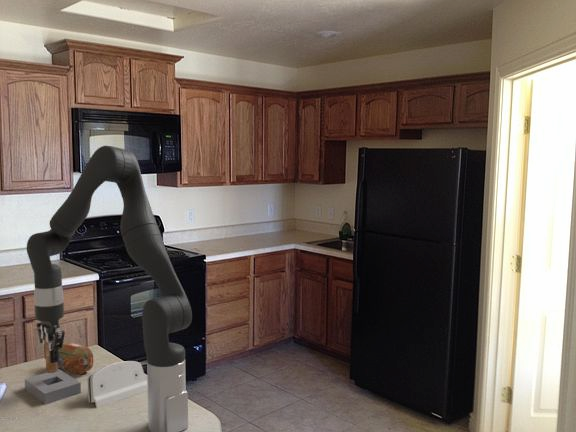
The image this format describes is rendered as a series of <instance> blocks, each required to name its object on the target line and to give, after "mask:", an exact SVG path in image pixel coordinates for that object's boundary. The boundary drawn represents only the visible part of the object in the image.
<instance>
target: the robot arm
mask: <svg viewBox="0 0 576 432" xmlns="http://www.w3.org/2000/svg"><path fill="white" fill-rule="evenodd" d="M105 182H110V183H115V184H116V185H117V187H118V190H119V192H120V195H121V198H122V201H123V209H122V213H121V219H120V234H121V237H122V240H123V243H124V246H125V249H126V252H127V254H128V256H129V257H130V258H131V259H132V260H133V262H135V264H136V265H137V266H138V267H139V268H141V269H142V270H143V271H145V273H146V274H147V275H148V276H150V277H151V279H152V280H153V281H154V282H155V284H156V285H157V287H158V289H159V292H160V294H161V296H158V297H154V298H151V299H148V300H146V301H145V303H144V305H143V306H142V312H141V321H142V322H141V323H142V332H143V334H142V335H143V347H144V351H145V354H146V365H147V366H146V368H147V369H146V370H147V371H146V372H147V373H146V377H147V378H146V381H147V384H148V391H147V417H148V418H147V419H148V422H147V424H148V425H147V426H148V430H149V432H182V431H184V430H186V429H188V428H189V400H188V399H189V398H188V397H189V394H188V391H187V390H186V389H187V388H186V385H187V382H186V349H185V347H184V346H183V345H181V344H179V343H175V342H170V341H169V334H173V333H176V332H179V331H182V330H185V329H187V328H188V327H190V325H191V324H192V320H193V312H192V306H191V303H190V301H189V299H188V297H187V294H186V292H185V290H184V288H183V286H182V284H181V282H180V280H179V278H178V276H177V274H176V271H175V268H174V266H173V265H172V261H171V260H170V257H169V253H168V251H167V248H166V247H165V246H166V245H165V242H164V238H163V237H162V234H161V231H160V228H159V225H158V223H157V221H156V218H155V215H154V212H153V211H152V207H151V204H150V201H149V198H148V195H147V192H146V188H145V183H144V181H143V175H142V173H141V167H140V165H139V161H138V158H136V156H135V154H133V152H132V151H130V150H127V149H125V148H121V147H117V146H112V145H102V146H100V147H98V148H97V149H96V150H95V151H94V152H93V154H92V155H91V157H89V160H88V162H87V163H86V165H85V167H84V169H83V170H82V172H81V173H80V176H79V178H78V179H77V181H76V183H75V185H74V187H73V188H72V190H71V192H70V194H69V195H68V196H67V198H66V199H65V201H63V203H62V204H61V205H60V207H59V208H58V209H57V211H55V213H54V214H53V215H52V216H51V218H50V219H49V228H50V230H47V231H43V232H37V233H33V234H32V235H30V237H28V239H27V242H26V252H27V257H28V260H29V262H30V265H31V268H32V271H33V275H34V277H33V278H34V279H33V280H34V282H33V283H34V293H33V302H34V318H35V320H36V321H37V323H36V330H37V334H38V339H39V343H40V344H42V347H43V350H44V351H43V352H44V353H43V354H44V360H46V355H45V337H46V341H47V342H48V343H49V353H50V363H56V362H58V361H59V356H58V349H60V348H62V346H63V343H64V340H65V334H66V333H65V330H61V325H60V320H61V319H62V318H64V317H65V308H64V307H65V304H64V303H65V302H64V290H63V279H62V278H63V276H62V268H61V267H60V265H58V264H55V263H52V261H51V257H52V256H57V255H59V254H61V253H62V252H64V250H66V249H67V247H68V245H69V244H70V242H71V240H72V238H73V234H74V233H75V232H76V231H77V230H78V228H79V227H80V226H81V225H82V224H83V222H84V221H85V219H86V218H87V217H88V215H89V213H90V211H91V204H92V198H93V196H94V194H95V192H96V191H97V190H98V188H99V187H100V186H101V185H103V183H105ZM38 321H39V322H38ZM50 338H53V339H50ZM52 342H53V343H52Z"/></svg>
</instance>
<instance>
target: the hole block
mask: <svg viewBox="0 0 576 432" xmlns="http://www.w3.org/2000/svg"><path fill="white" fill-rule="evenodd" d="M81 384H82V383H81V382H80V381H78V380H77V379H75V378H74V377H72V376H71V375H69V374H68V373H66V372H64V370H62V369H60V368H58V371H57V372H54V373H47V372H44V373H41V374H37V375H34V376H31V377H30V376H29V377H26V378H24V390H25V391H27V392H28V393H29V394H31V395H32V396H34V397H35V398H36V399H38V400H39V401H40V402H41V403H43V404H44V405H48V404H51V403H53V402H56V401H60V400H63V399H65V398H69V397H72V396H75V395H78V394H81V393H82V387H81V386H82V385H81Z"/></svg>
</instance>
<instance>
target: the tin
mask: <svg viewBox="0 0 576 432" xmlns="http://www.w3.org/2000/svg"><path fill="white" fill-rule="evenodd" d="M58 356H59V361H58V362H57V365H58V369H60V370H61V371H66V372H70V373H75V374H78V375H81V374H85V373H87V372H90V371H91V369H92V368H93V367H94V354H93V351H92V350H91V349H90V348H89V347H88V346H87V345H81V344H77V343H71V342H63V346H62V348H60V349H58Z"/></svg>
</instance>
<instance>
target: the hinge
mask: <svg viewBox="0 0 576 432" xmlns="http://www.w3.org/2000/svg"><path fill="white" fill-rule="evenodd" d="M86 381H87V398H88V399H87V400H88V403H89V404H90V403H95V408H97V409H99V408H100V407H103V406H107V405H110V404H112V403H115V402H118V401H119V402H120V400H121V401H122V400H125V399H126V398H130V397H133V396H136V395H139V394H142V393H145V392H148V384H147V378H146V375H145V371H144V368H143V366H142V364H141V362H140V361H139V362H138V361H135V360H134V361H133V360H126V361H117V362H114V363H113V362H112V363H109V364H107V365H104V366H102V367H100V368H99V369H97V370H95V371H93V373H91V374H89V375H88V376H87V380H86Z"/></svg>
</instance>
